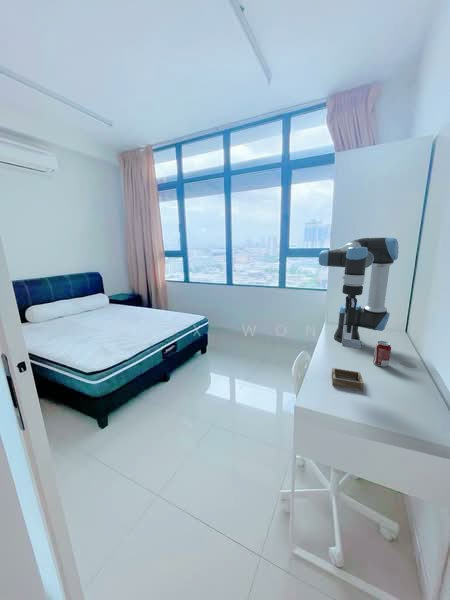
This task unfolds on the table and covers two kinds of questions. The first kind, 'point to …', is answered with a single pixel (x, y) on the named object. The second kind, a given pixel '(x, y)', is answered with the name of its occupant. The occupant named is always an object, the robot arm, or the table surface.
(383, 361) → the soda can
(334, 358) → the table surface
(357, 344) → the bracket
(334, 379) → the wooden frame
